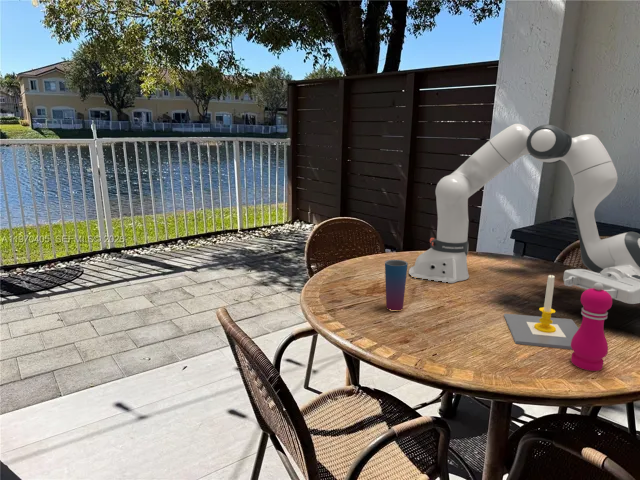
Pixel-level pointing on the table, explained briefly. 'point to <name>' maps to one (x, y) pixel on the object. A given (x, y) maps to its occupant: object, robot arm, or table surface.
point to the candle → (547, 309)
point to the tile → (529, 335)
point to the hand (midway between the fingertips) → (581, 288)
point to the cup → (395, 283)
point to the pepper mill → (591, 330)
